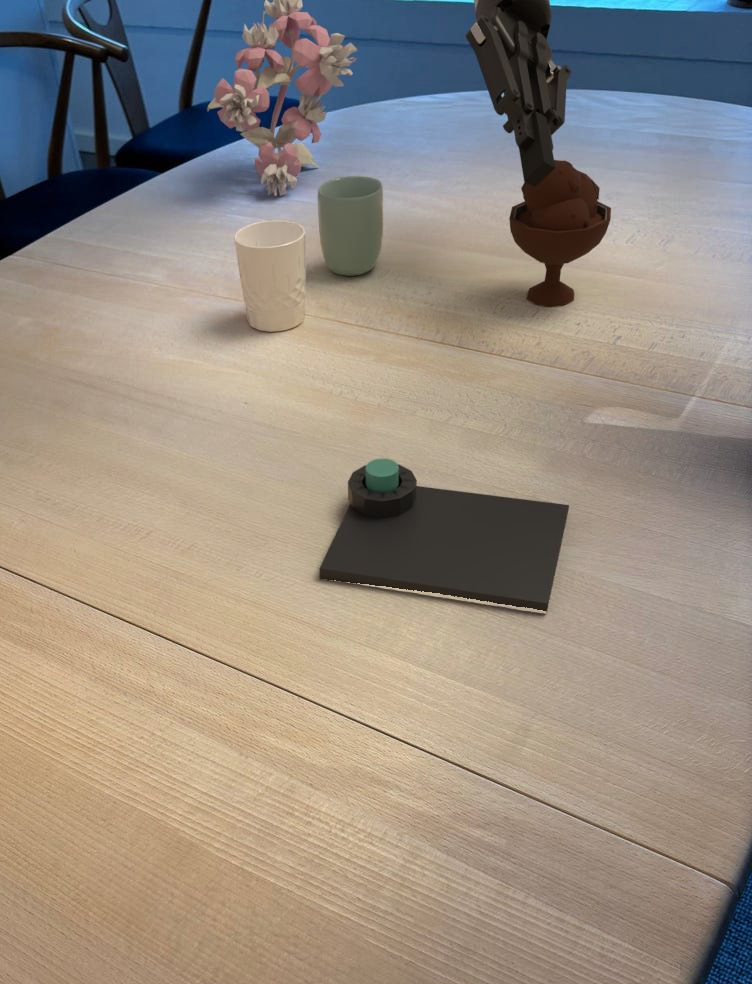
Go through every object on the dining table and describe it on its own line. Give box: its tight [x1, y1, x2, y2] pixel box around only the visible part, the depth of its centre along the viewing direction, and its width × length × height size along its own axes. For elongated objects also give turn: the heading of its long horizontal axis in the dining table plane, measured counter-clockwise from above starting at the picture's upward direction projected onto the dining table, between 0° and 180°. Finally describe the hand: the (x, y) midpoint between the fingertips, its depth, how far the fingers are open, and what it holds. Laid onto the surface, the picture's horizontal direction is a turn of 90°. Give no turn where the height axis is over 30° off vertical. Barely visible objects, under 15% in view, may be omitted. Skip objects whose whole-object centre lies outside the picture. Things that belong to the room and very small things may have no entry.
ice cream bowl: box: [509, 159, 612, 308], centre depth 108 cm, size 11×11×15 cm
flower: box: [206, 0, 358, 197], centre depth 144 cm, size 20×22×25 cm
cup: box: [317, 175, 384, 277], centre depth 120 cm, size 8×8×10 cm
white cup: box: [233, 219, 307, 333], centre depth 111 cm, size 8×8×10 cm
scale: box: [319, 464, 570, 612], centre depth 80 cm, size 18×13×3 cm
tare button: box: [365, 458, 399, 493], centre depth 83 cm, size 3×3×2 cm
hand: (539, 174), depth 95 cm, fingers closed
